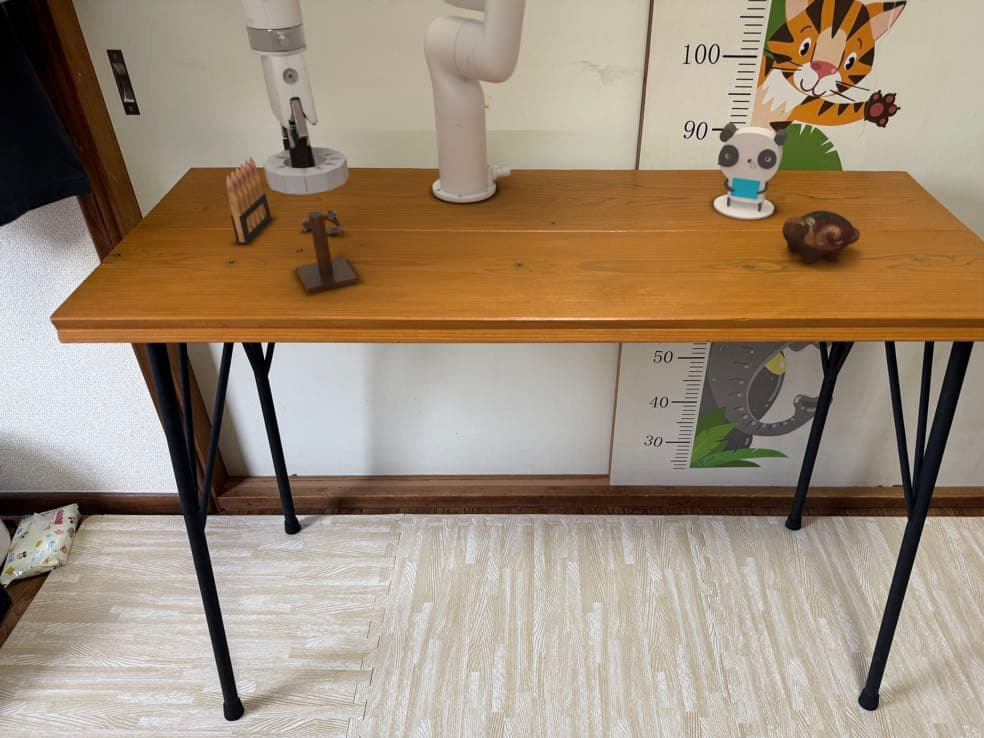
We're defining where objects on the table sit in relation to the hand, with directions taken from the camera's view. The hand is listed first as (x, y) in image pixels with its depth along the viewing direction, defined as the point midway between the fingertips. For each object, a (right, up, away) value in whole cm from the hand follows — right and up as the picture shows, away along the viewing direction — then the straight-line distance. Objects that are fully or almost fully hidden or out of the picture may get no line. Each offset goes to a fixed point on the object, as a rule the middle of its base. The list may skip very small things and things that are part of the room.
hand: (301, 166), depth 118 cm
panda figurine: (+76, +2, +31) cm, 82 cm away
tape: (+2, -3, -3) cm, 4 cm away
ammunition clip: (-15, -5, +21) cm, 26 cm away
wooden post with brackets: (-2, -5, +21) cm, 22 cm away
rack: (+2, -16, +7) cm, 18 cm away
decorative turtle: (+84, -11, +15) cm, 86 cm away
